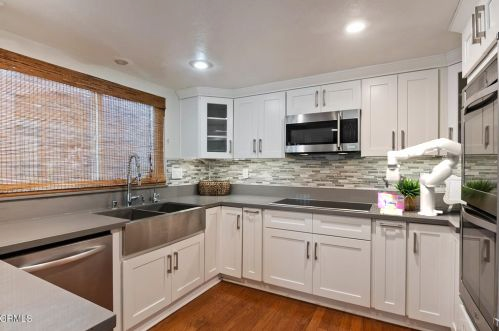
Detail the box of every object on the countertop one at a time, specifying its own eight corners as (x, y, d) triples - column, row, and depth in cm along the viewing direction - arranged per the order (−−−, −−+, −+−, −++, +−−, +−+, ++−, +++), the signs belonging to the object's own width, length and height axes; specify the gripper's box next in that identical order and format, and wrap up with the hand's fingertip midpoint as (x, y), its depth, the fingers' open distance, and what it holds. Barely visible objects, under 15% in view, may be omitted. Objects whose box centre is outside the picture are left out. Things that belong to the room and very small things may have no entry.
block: (394, 209, 213) (394, 204, 213) (393, 210, 209) (393, 205, 209) (388, 209, 215) (388, 204, 215) (388, 209, 212) (388, 204, 212)
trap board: (402, 212, 216) (402, 208, 216) (401, 215, 206) (401, 211, 206) (381, 210, 224) (381, 207, 224) (380, 213, 214) (380, 209, 214)
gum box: (376, 207, 243) (376, 192, 243) (384, 206, 245) (384, 192, 245) (396, 211, 220) (396, 195, 220) (404, 211, 222) (404, 195, 221)
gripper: (406, 166, 209) (407, 187, 209) (383, 166, 222) (383, 187, 222) (403, 166, 204) (404, 188, 204) (380, 166, 216) (380, 188, 216)
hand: (393, 187), depth 213 cm, fingers open, 9 cm apart
